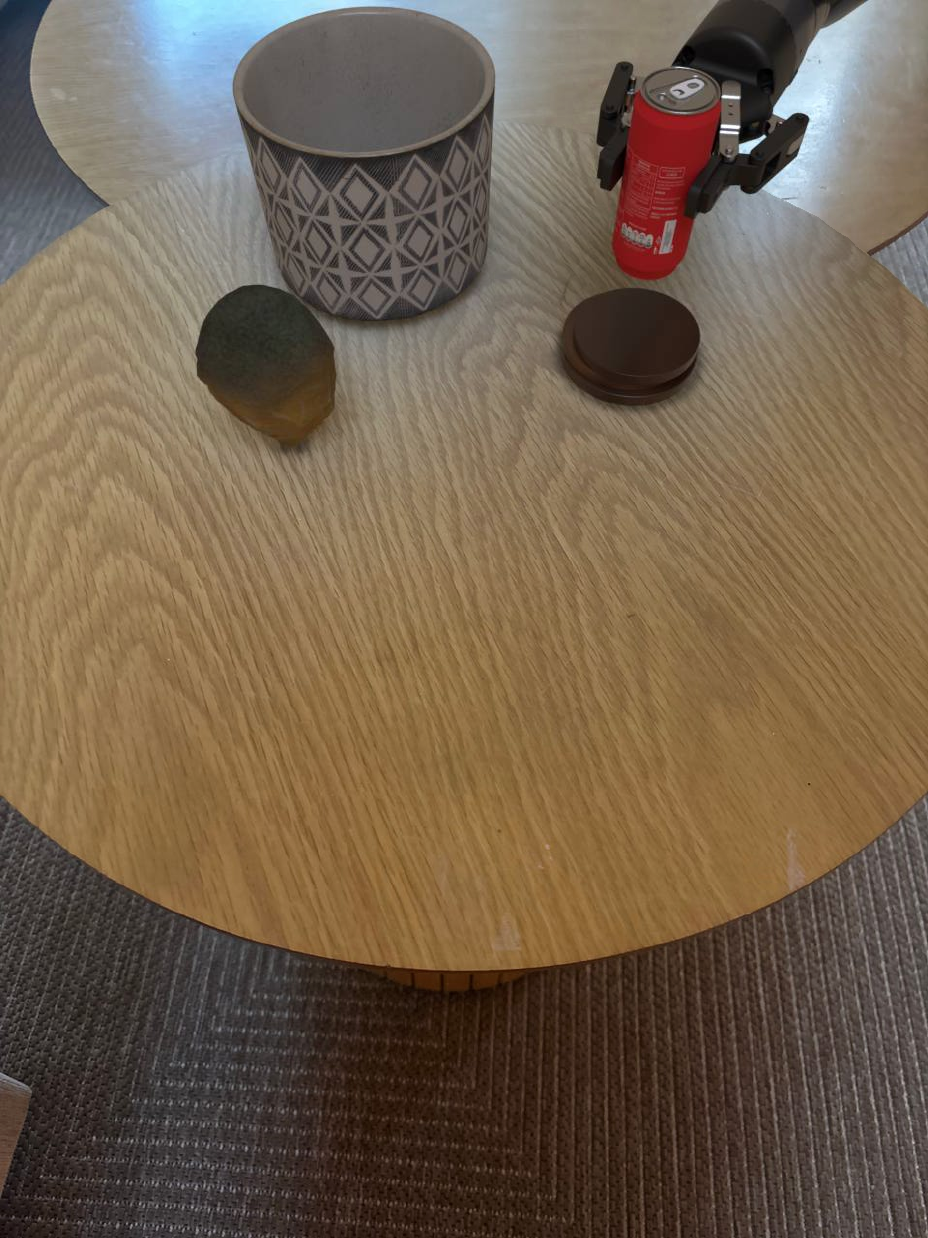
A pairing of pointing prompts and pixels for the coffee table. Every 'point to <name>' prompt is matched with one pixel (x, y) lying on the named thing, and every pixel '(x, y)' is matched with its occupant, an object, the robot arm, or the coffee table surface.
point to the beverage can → (663, 169)
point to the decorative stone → (268, 362)
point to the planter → (371, 157)
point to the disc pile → (630, 346)
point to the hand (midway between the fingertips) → (648, 190)
